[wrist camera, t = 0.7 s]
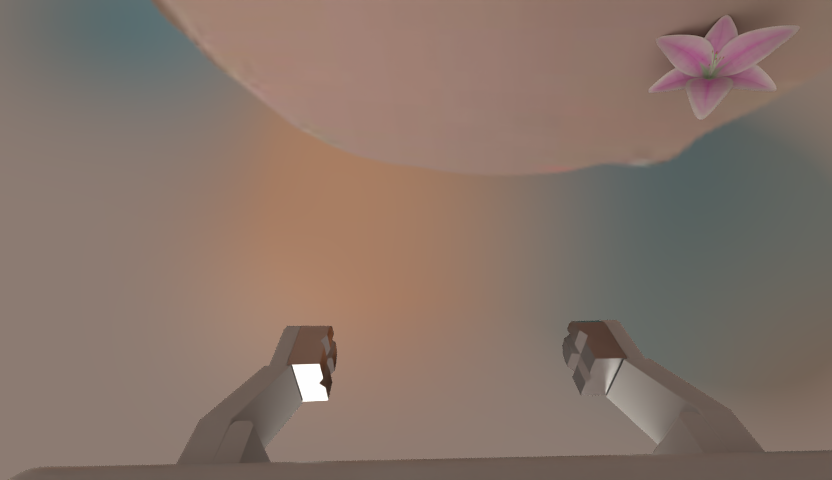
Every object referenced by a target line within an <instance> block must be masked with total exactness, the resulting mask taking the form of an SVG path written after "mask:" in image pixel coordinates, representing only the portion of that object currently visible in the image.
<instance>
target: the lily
mask: <svg viewBox="0 0 832 480" xmlns="http://www.w3.org/2000/svg"><path fill="white" fill-rule="evenodd" d="M799 28H800V26H797V25H783V26H774V27H768V28H761V29H757V30H753V31H749V32H746V33H743V34H741V35H738V32H737V29H736V26H735V24H734V22H733V20H732V18H731V17H730V16H729V15H725V16H722V17H721V18H720V19H719V20H718V21H717V22H716V23H715V24H714V26H713V27H712V28H711V29H710V31H709V32H708V33H707V35H706V36H705V38H703V37H699V36H695V35H666V36H661V37H659V38H657V39H656V43H657V45H658V46H659V48H660V49H661V50H662V52H663V53H664V54H665V55H666V57H667V58H668V59H669V61H670V62H671V63H672V64H673V65H674V67H676V68H674V69H672V70H671V71H670V72H668V73H667V74H665V75H664V76H663V77H662V78H660V79H659V80H658V81H657V82H656V83H655V84H654V85H652V87H651V88H650V89H649V90H648V92H649V93H657V92H666V91H674V90H681V89H686V92H687V95H688V98H689V101H690V104H691V107H692V110H693V112H694V114H695V116H696V118H698V119H699V120H702V119H704V118H706V117H707V116H708V115H709V114H710V113H711V112H712V111H713V110H714V109H715V108H716V107H717V106H718V104H719V103H720V102H721V101H722V100H723V99H724V97H725V96H726V95H727V94H728V93H729V91H730V90H731V88H735V89H743V90H754V91H776V88H777V87H776V85H775V83H774V82H773V81H772V79H771V78H770V77H769V76H768V75H767V73H766V72H765V71H764V70H762V69H761V68H760V67H759V66H757V65H755V64H757V63H758V62H760V61H761V60H763V59H764V58H765V57H767V56H768V55H769V54H770V53H772V52H773V51H774V50H776V49H777V48H778V47H779V46H781V45H782V44H783V43H785V42H786V41H787V40H788V39H790V38H791V37H792V36H793V35H794V34H795V33H796V32H797V31H798V30H799Z"/></svg>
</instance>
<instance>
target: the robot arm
mask: <svg viewBox="0 0 832 480" xmlns="http://www.w3.org/2000/svg"><path fill="white" fill-rule="evenodd" d="M567 329H568V332H569V333H570V334H569V335H568V336H567V337H565V338H564V342H563V345H562V346H563V356H564V359H565V362H566V364H567V366H568V367H569V368H571V369H572V370H573V371H574V374H573V379H574V382H575V384H576V386H577V388H578V390H579V392H580V395H607V398H608V399H610V400H611V401H612V402H613V403H614V404H615V405H616V406H617V407H618V408H619V409H620V410H621V411H623V413H625V414H626V415H627V416H628V417H629V418H630V419H631V420H632V421H633V422H634V423H635V424H637V425H638V426H639V427H640V428H641V429H642V430H643V431H644V432H645V433H646V434H647V435H648V436H649V437H651V438H652V439H653V440H654V441H655V442H656V443H657V444H658V446H657V447H656V449H655V450H654V452H653V453H652V454H637V455H595V456H594V455H590V456H548V457H547V456H546V457H500V458H453V459H411V460H407V459H406V460H360V461H314V462H270V460H269V458H268V455H267V453H266V451H265V447H266V446H267V445H268V444H269V443H270V441H271V440H272V439H273V438H274V436H275V435H276V434H277V433H278V432H279V431H280V429H281V428H282V427H283V426H284V424H285V423H286V422H287V421H288V420H289V419H290V417H291V416H292V415H293V414H294V413H295V411H296V410H297V409H298V408H299V407H300V405H301V404H302V401H321V400H328V399H329V395H330V390H331V385H332V379H331V374H332V373H333V372H334V371H335V367H336V359H337V348H336V343H335V342H334V341H333V340H332V339H333V335H334V332H333V328H332V326H287V327H286V328H285V329H284V331H283V333H282V336H281V338H280V341H279V343H278V346H277V348H276V350H275V353H274V355H273V358H272V360H271V362H270V365H269V366H264V367H263V368H262V369H261V370H259V371H258V372H257V373H256V374H254V375H253V376H252V377H251V378H250V379H248V380H247V381H246V382H245V383H244V384H242V385H241V386H240V387H239V388H238V389H236V390H235V391H234V392H233V393H232V394H230V395H229V396H228V397H227V398H226V399H224V400H223V401H222V402H221V403H220V404H218V405H217V406H216V407H215V408H214V409H213V410H211V411H210V412H209V413H208V414H206V415H205V416H204V417H203V418H202V419H200V421H199V422H198V424H197V426H196V428H195V430H194V432H193V434H192V435H191V437H190V439H189V442H188V443H187V445H186V447H185V449H184V451H183V453H182V454H181V456H180V458H179V460H178V462H177V464H167V465H118V466H73V467H72V466H67V467H66V466H63V467H62V466H60V467H39V468H33V469H29V470H26V471H24V472H21V473H19V474H17V475H16V476H14V477H12V478H10V479H8V480H832V450H827V451H826V450H823V451H778V452H765V451H764V450H763V449H762V448H761V446H760V445H759V444H758V443H757V441H756V440H755V439H754V438H753V437H752V435H751V434H750V433H749V432H748V430H747V429H746V428H745V427H744V426H743V424H742V423H741V422H740V421H739V420H738V418H737V417H736V416H735V415H734V413H733V412H732V411H731V410H730V409H728V408H727V407H725V406H724V405H722V404H720V403H719V402H717V401H716V400H714V399H713V398H711V397H709V396H708V395H706V394H705V393H703V392H701V391H700V390H698V389H697V388H695V387H694V386H692V385H690V384H689V383H687V382H686V381H684V380H683V379H681V378H680V377H678V376H676V375H675V374H673V373H672V372H670V371H668V370H667V369H665V368H664V367H662V366H661V365H659V364H657V363H656V362H654V361H653V360H651V359H645V358H644V356H643V355H642V353H641V352H640V350H639V349H638V348H637V346H636V345H635V343H634V342H633V341H632V339H631V338H630V336H629V335H628V333H627V332H626V331H625V329H624V328H623V326H622V325H621V324H620V322H618V321H617V320H601V321H599V320H597V321H571V322H570V323H569V326H568V328H567Z"/></svg>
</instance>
